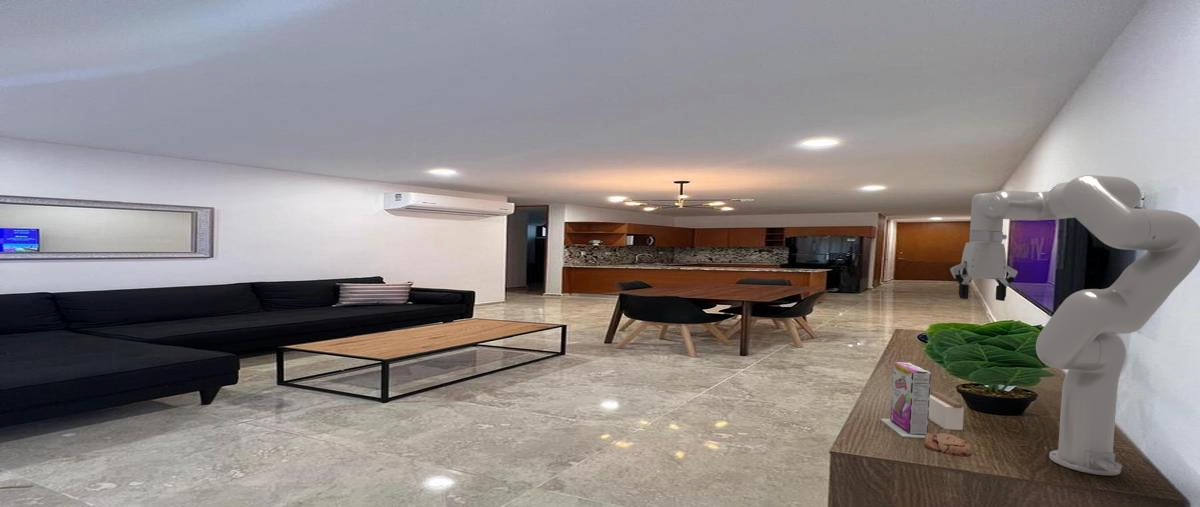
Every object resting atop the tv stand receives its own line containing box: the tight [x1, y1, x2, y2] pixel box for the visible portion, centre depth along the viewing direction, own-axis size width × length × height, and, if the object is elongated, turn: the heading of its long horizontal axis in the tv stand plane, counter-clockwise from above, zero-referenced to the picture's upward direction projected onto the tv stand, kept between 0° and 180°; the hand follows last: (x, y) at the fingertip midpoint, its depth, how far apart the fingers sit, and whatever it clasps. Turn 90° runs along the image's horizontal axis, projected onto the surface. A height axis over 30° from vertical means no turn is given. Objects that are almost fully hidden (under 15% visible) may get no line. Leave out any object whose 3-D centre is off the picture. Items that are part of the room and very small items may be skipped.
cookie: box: [923, 432, 973, 457], centre depth 142 cm, size 10×11×3 cm
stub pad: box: [879, 418, 925, 439], centre depth 155 cm, size 14×8×1 cm, turn 175°
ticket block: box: [928, 390, 965, 431], centre depth 162 cm, size 13×5×7 cm, turn 175°
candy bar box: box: [889, 361, 932, 435], centre depth 155 cm, size 11×5×16 cm, turn 178°
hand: (981, 299), depth 163 cm, fingers open, 9 cm apart
